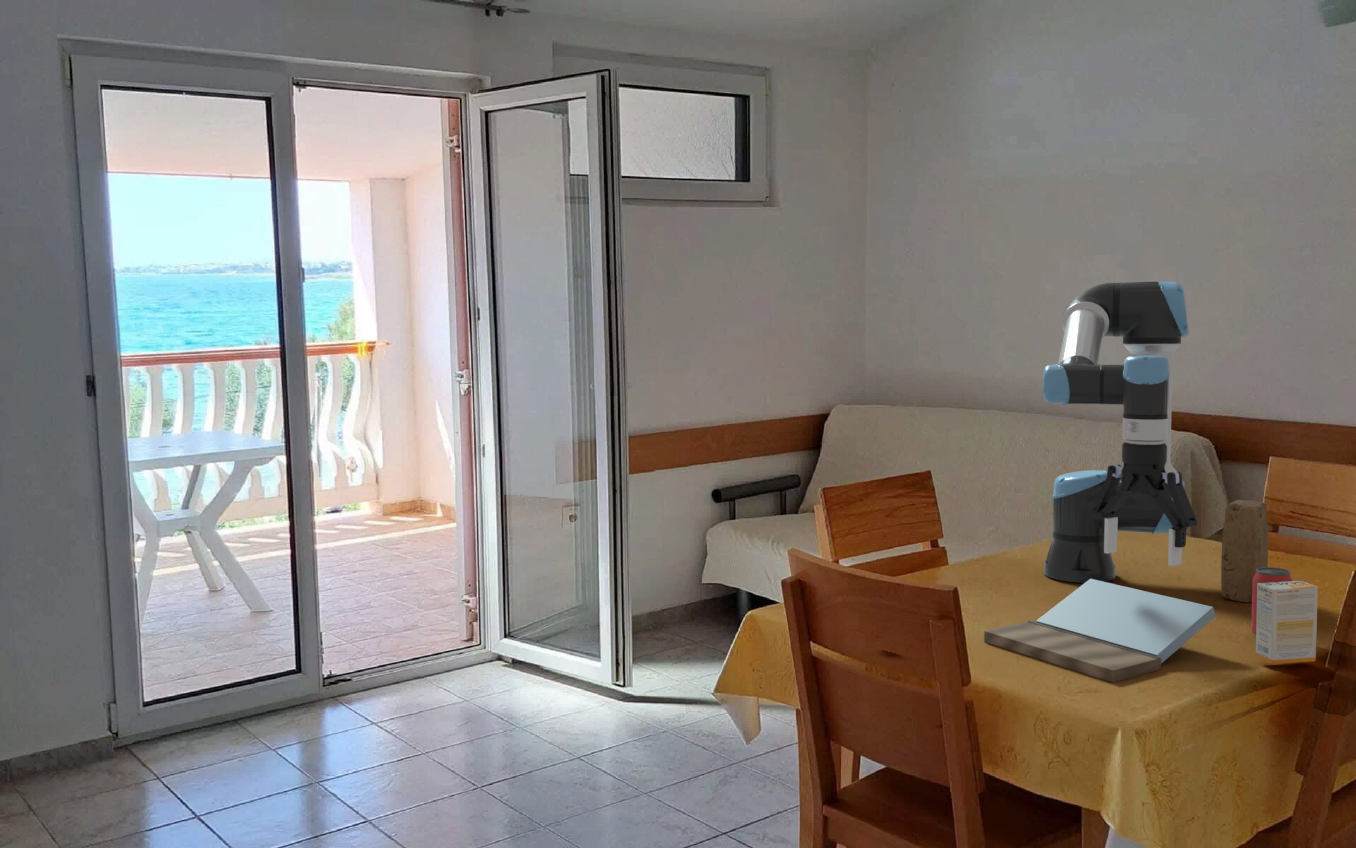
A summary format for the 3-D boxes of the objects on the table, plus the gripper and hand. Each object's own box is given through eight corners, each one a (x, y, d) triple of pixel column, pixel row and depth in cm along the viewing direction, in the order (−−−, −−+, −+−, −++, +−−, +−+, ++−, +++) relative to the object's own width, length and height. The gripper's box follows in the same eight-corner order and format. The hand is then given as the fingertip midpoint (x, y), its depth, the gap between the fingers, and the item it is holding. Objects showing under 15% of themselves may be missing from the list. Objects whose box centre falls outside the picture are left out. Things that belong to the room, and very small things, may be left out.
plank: (1038, 630, 218) (1035, 620, 217) (1092, 587, 225) (1090, 578, 224) (1159, 665, 196) (1157, 655, 195) (1215, 616, 203) (1213, 607, 202)
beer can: (1289, 641, 209) (1292, 576, 208) (1249, 637, 213) (1251, 572, 211) (1292, 633, 215) (1295, 568, 213) (1253, 628, 218) (1255, 565, 217)
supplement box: (1298, 654, 202) (1301, 579, 200) (1316, 662, 197) (1319, 586, 196) (1253, 656, 201) (1256, 581, 199) (1270, 665, 196) (1273, 588, 195)
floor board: (984, 641, 212) (984, 630, 212) (1030, 631, 218) (1030, 620, 218) (1112, 682, 188) (1113, 670, 188) (1160, 669, 194) (1161, 657, 194)
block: (1256, 605, 234) (1260, 507, 232) (1217, 600, 239) (1220, 503, 237) (1270, 595, 242) (1274, 499, 240) (1232, 590, 247) (1235, 496, 245)
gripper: (1074, 437, 218) (1072, 549, 220) (1193, 449, 197) (1190, 573, 199) (1101, 435, 222) (1098, 545, 224) (1220, 446, 201) (1217, 568, 203)
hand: (1141, 558), depth 211 cm, fingers open, 13 cm apart
